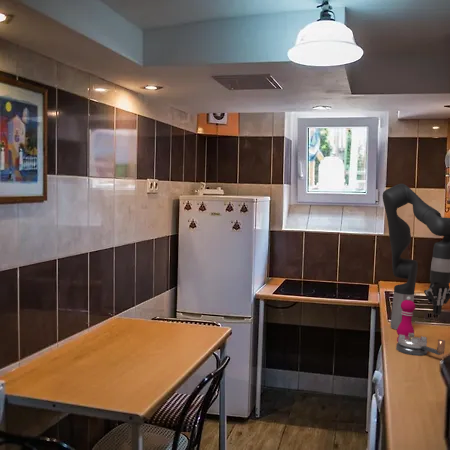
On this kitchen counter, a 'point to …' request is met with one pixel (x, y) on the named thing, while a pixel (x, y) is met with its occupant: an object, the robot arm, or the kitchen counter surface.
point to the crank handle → (419, 343)
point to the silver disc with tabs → (410, 351)
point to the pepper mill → (406, 317)
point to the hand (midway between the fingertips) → (436, 314)
